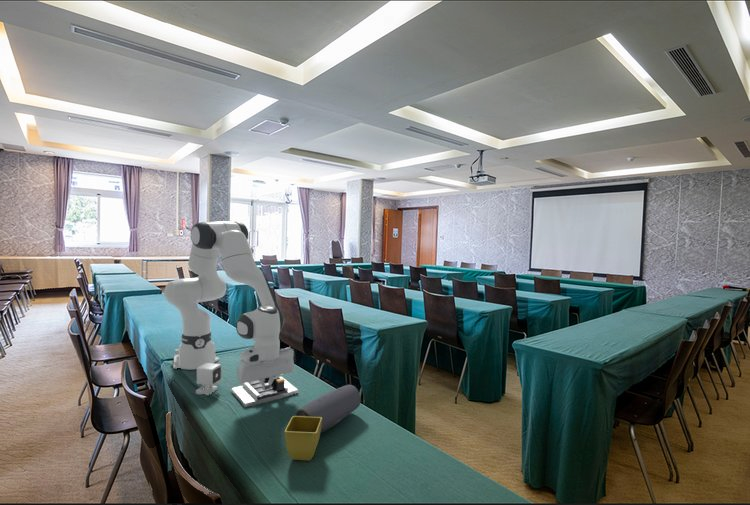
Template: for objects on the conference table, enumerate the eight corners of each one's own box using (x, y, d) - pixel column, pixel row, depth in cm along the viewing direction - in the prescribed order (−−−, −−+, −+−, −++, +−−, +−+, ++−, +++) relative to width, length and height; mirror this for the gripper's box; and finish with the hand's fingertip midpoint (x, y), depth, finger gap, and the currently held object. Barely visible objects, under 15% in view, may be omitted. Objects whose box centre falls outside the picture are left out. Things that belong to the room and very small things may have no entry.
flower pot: (291, 445, 110) (292, 415, 109) (321, 446, 110) (322, 416, 109) (283, 464, 101) (284, 431, 100) (316, 465, 101) (316, 433, 100)
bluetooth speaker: (340, 407, 134) (341, 379, 133) (361, 415, 128) (362, 386, 128) (291, 435, 115) (292, 403, 115) (314, 446, 110) (314, 412, 109)
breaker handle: (276, 389, 141) (276, 379, 140) (282, 387, 142) (282, 378, 142) (278, 390, 139) (278, 381, 139) (284, 389, 141) (284, 379, 140)
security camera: (211, 396, 139) (211, 369, 138) (194, 394, 140) (194, 367, 140) (221, 389, 145) (221, 363, 145) (205, 387, 147) (205, 361, 146)
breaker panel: (231, 391, 143) (231, 377, 143) (281, 380, 155) (281, 366, 155) (245, 407, 131) (245, 391, 131) (298, 393, 144) (298, 378, 143)
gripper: (290, 344, 145) (289, 379, 146) (235, 354, 133) (235, 392, 134) (297, 348, 140) (296, 385, 141) (241, 359, 128) (241, 399, 129)
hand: (266, 388), depth 137 cm, fingers closed
